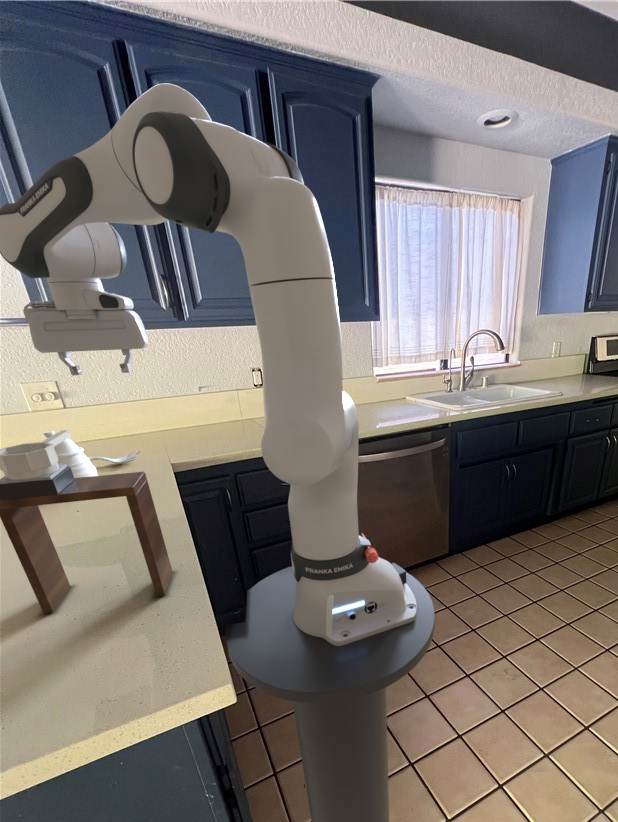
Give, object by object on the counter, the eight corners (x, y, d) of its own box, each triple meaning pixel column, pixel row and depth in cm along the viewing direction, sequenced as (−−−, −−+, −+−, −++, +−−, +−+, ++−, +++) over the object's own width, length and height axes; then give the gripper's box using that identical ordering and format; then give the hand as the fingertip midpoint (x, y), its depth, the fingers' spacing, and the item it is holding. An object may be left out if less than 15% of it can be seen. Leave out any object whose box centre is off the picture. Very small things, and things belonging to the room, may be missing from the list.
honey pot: (57, 499, 123) (33, 439, 116) (47, 488, 132) (25, 431, 124) (106, 487, 132) (87, 429, 124) (94, 477, 140) (76, 423, 132)
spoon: (137, 466, 150) (134, 456, 148) (30, 476, 141) (27, 467, 140) (142, 458, 157) (140, 449, 156) (42, 468, 149) (38, 458, 148)
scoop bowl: (90, 444, 84) (84, 424, 82) (48, 477, 67) (39, 452, 65) (50, 448, 82) (42, 427, 80) (-4, 482, 65) (-15, 457, 64)
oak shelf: (172, 572, 87) (144, 471, 78) (165, 595, 80) (133, 487, 71) (62, 588, 83) (18, 483, 73) (43, 614, 76) (-8, 501, 66)
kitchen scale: (75, 479, 75) (69, 463, 73) (58, 494, 68) (51, 477, 67) (22, 484, 73) (15, 467, 72) (0, 500, 67) (-8, 482, 65)
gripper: (11, 301, 79) (39, 378, 85) (132, 298, 83) (150, 372, 89) (28, 302, 84) (53, 374, 90) (140, 299, 89) (157, 369, 94)
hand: (102, 373), depth 90 cm, fingers open, 8 cm apart
